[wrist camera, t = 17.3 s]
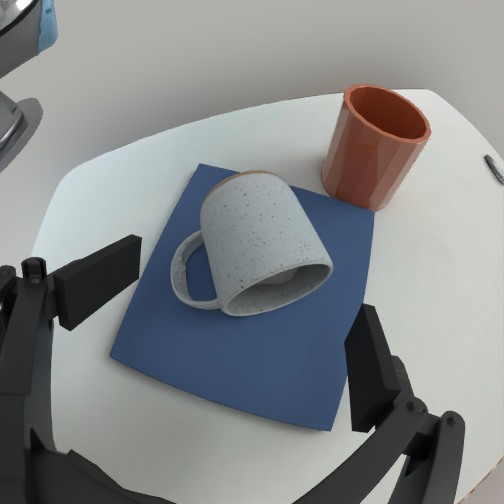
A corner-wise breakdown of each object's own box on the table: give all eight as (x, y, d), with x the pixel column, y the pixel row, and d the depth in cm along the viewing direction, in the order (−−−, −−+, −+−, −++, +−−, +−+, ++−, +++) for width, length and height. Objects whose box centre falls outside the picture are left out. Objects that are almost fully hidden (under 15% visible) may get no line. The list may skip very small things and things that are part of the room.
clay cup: (314, 199, 27) (340, 120, 18) (326, 146, 31) (346, 75, 22) (388, 223, 26) (436, 157, 17) (390, 168, 30) (424, 104, 21)
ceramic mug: (281, 209, 25) (291, 148, 18) (320, 293, 22) (350, 252, 15) (165, 246, 24) (135, 192, 17) (190, 338, 21) (160, 317, 14)
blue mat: (113, 357, 20) (108, 356, 19) (200, 169, 29) (199, 163, 28) (327, 429, 18) (330, 431, 17) (371, 217, 27) (375, 211, 26)
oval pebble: (481, 157, 33) (484, 152, 32) (488, 157, 33) (491, 153, 32) (501, 185, 30) (504, 180, 29) (507, 184, 31) (510, 180, 30)
